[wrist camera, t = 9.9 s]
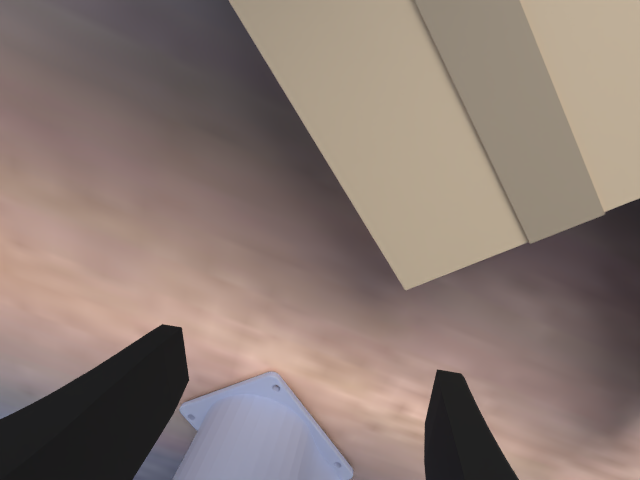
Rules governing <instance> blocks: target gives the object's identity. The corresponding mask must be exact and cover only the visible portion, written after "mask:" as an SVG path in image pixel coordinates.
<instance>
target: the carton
mask: <svg viewBox="0 0 640 480" xmlns="http://www.w3.org/2000/svg"><path fill="white" fill-rule="evenodd" d="M229 2H230V4H231V5H232V7H233V8H234V10H235V12H236V13H237V15H238V17H239V18H240V20H241V22H242V23H243V25H244V27H245V28H246V30H247V31H248V33H249V35H250V36H251V38H252V40H253V41H254V43H255V45H256V46H257V48H258V49H259V51H260V53H261V54H262V56H263V58H264V59H265V61H266V63H267V64H268V66H269V68H270V69H271V71H272V72H273V74H274V76H275V77H276V79H277V81H278V82H279V84H280V86H281V87H282V89H283V91H284V92H285V94H286V95H287V97H288V99H289V100H290V102H291V104H292V105H293V107H294V109H295V110H296V112H297V114H298V115H299V117H300V118H301V120H302V122H303V123H304V125H305V127H306V128H307V130H308V132H309V133H310V135H311V137H312V138H313V140H314V141H315V143H316V145H317V146H318V148H319V150H320V151H321V153H322V155H323V156H324V158H325V160H326V161H327V163H328V164H329V166H330V168H331V169H332V171H333V173H334V174H335V176H336V178H337V179H338V181H339V183H340V184H341V186H342V187H343V189H344V191H345V192H346V194H347V196H348V197H349V199H350V201H351V202H352V204H353V206H354V207H355V209H356V210H357V212H358V214H359V215H360V217H361V219H362V220H363V222H364V224H365V225H366V227H367V228H368V230H369V232H370V233H371V235H372V237H373V238H374V240H375V242H376V243H377V245H378V247H379V248H380V250H381V251H382V253H383V255H384V256H385V258H386V260H387V261H388V263H389V265H390V266H391V268H392V270H393V271H394V273H395V274H396V276H397V278H398V279H399V281H400V283H401V284H402V286H403V288H404V289H405V291H406V290H408V289H411V288H413V287H416V286H418V285H421V284H423V283H426V282H429V281H431V280H434V279H436V278H439V277H441V276H444V275H446V274H449V273H451V272H454V271H456V270H459V269H461V268H464V267H467V266H469V265H472V264H474V263H477V262H479V261H482V260H484V259H487V258H489V257H492V256H494V255H497V254H500V253H502V252H505V251H507V250H510V249H512V248H515V247H517V246H520V245H522V244H525V243H527V242H530V244H531V243H534V242H536V241H539V240H541V239H544V238H547V237H549V236H552V235H554V234H557V233H559V232H562V231H564V230H567V229H570V228H572V227H575V226H577V225H580V224H582V223H585V222H587V221H590V220H592V219H595V218H598V217H600V216H603V215H605V213H604V212H606V211H609V210H611V209H614V208H616V207H619V206H621V205H624V204H626V203H629V202H631V201H634V200H636V199H639V198H640V0H229Z"/></svg>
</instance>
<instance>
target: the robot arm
mask: <svg viewBox="0 0 640 480" xmlns="http://www.w3.org/2000/svg"><path fill="white" fill-rule="evenodd" d="M188 381H189V376H188V369H187V362H186V354H185V347H184V340H183V332H182V328H181V327H175V326H169V325H163V324H162V325H161V326H159V327H157V328H156V329H154V330H152V331H151V332H149V333H148V334H146V335H145V336H143V337H142V338H140V339H139V340H137V341H135V342H134V343H132V344H131V345H129V346H128V347H126V348H125V349H123V350H122V351H120V352H119V353H117V354H116V355H114V356H112V357H111V358H109V359H108V360H106V361H105V362H103V363H102V364H100V365H98V366H97V367H95V368H94V369H92V370H90V371H89V372H87V373H85V374H84V375H82V376H80V377H79V378H77V379H75V380H73V381H72V382H70V383H68V384H67V385H65V386H63V387H62V388H60V389H58V390H57V391H55V392H53V393H51V394H49V395H48V396H46V397H44V398H42V399H40V400H38V401H36V402H34V403H33V404H31V405H29V406H27V407H25V408H23V409H21V410H19V411H17V412H15V413H13V414H11V415H9V416H7V417H4V418H2V419H0V480H132V479H133V478H134V476H135V475H136V473H137V471H138V470H139V468H140V467H141V465H142V463H143V462H144V460H145V459H146V457H147V455H148V454H149V452H150V451H151V449H152V447H153V446H154V444H155V443H156V441H157V440H158V438H159V436H160V435H161V433H162V431H163V430H164V428H165V427H166V425H167V423H168V422H169V420H170V418H171V417H172V415H173V413H174V411H175V409H176V407H177V405H178V403H179V401H180V399H181V397H182V395H183V392H184V390H185V388H186V386H187V383H188ZM276 385H278V386H279V387H278V386H276ZM180 412H181V414H182V415H183V416H184V417H185V418H186V419H187V420H188V421H189V423H190V424H191V425H192V426H193V427H194V428H195V429H196V430H197V431H198V432H197V433H196V435H195V437H194V439H193V441H192V443H191V445H190V447H189V449H188V451H187V452H186V454H185V456H184V458H183V460H182V462H181V464H180V466H179V468H178V470H177V472H176V473H175V475H174V477H173V479H172V480H348V479H351V478H352V477H353V471H354V470H353V468H352V467H351V466H350V465H349V463H348V462H347V461H346V459H345V458H344V457H343V456H342V454H341V453H340V452H339V450H338V449H337V448H336V447H335V445H334V444H333V443H332V442H331V440H330V439H329V438H328V436H327V435H326V434H325V433H324V431H323V430H322V429H321V427H320V426H319V425H318V424H317V422H316V421H315V420H314V419H313V417H312V416H311V415H310V413H309V412H308V411H307V410H306V408H305V407H304V406H303V405H302V403H301V402H300V401H299V399H298V398H297V397H296V396H295V394H294V393H293V392H292V390H291V389H290V388H289V387H288V385H287V384H286V383H285V382H284V380H283V379H282V378H281V376H280V375H279V374H278V373H276V372H267V373H264V374H261V375H259V376H256V377H253V378H250V379H248V380H245V381H242V382H239V383H237V384H234V385H231V386H228V387H226V388H223V389H220V390H217V391H215V392H212V393H209V394H206V395H203V396H201V397H198V398H195V399H192V400H190V401H187V402H184V403H183V404H182V405H181V407H180ZM424 463H425V475H426V480H519V479H518V477H517V476H516V474H515V473H514V471H513V470H512V468H511V466H510V465H509V463H508V461H507V460H506V458H505V456H504V455H503V453H502V451H501V449H500V447H499V446H498V444H497V442H496V440H495V439H494V437H493V435H492V433H491V431H490V430H489V428H488V426H487V424H486V422H485V420H484V418H483V416H482V414H481V412H480V410H479V408H478V406H477V404H476V402H475V400H474V398H473V396H472V394H471V392H470V389H469V387H468V385H467V383H466V380H465V378H464V377H463V375H462V374H461V373H455V372H449V371H442V370H437V372H436V377H435V381H434V385H433V390H432V394H431V399H430V403H429V408H428V412H427V416H426V421H425V450H424Z"/></svg>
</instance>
